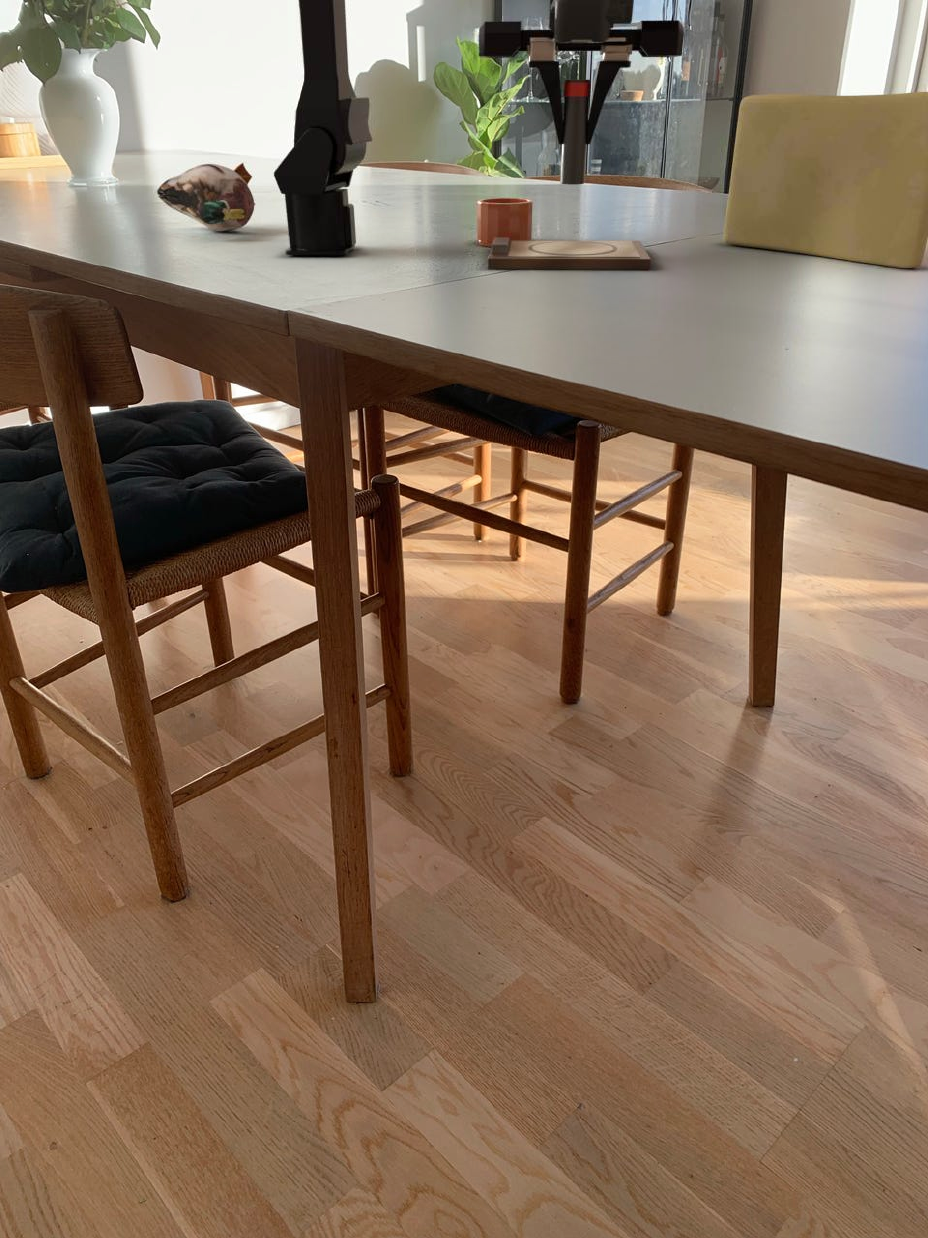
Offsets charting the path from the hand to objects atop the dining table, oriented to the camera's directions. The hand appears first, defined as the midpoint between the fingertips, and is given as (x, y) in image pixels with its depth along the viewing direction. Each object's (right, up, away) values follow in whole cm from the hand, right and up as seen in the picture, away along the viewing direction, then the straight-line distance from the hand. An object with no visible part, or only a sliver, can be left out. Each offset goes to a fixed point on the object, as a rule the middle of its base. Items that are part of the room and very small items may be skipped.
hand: (574, 143), depth 90 cm
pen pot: (-6, -3, +15) cm, 17 cm away
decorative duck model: (-44, +2, +25) cm, 50 cm away
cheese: (+28, -8, +7) cm, 30 cm away
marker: (0, -3, +2) cm, 4 cm away
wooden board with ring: (0, -9, +6) cm, 11 cm away
